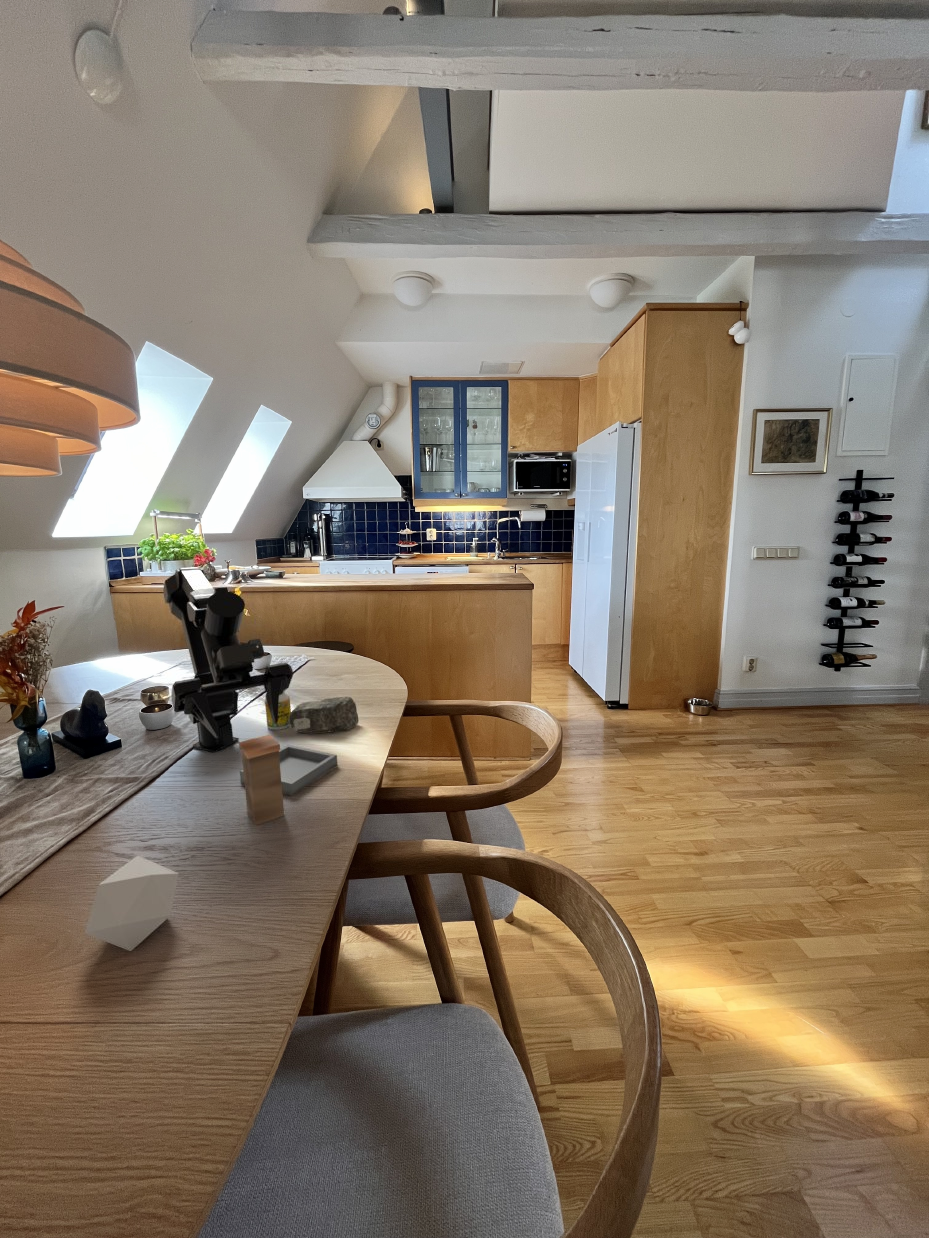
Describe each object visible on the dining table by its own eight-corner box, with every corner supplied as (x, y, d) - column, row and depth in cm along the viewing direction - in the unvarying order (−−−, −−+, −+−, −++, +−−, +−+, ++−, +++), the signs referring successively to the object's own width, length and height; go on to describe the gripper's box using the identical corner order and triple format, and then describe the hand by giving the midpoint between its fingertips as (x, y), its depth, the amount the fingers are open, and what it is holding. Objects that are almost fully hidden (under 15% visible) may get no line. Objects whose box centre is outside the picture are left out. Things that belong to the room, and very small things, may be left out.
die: (143, 902, 64) (76, 870, 59) (202, 867, 64) (141, 832, 59) (127, 972, 58) (50, 943, 52) (193, 933, 57) (122, 901, 52)
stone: (304, 758, 111) (280, 717, 110) (309, 749, 118) (286, 710, 118) (364, 724, 113) (340, 683, 112) (365, 718, 120) (342, 679, 119)
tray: (240, 782, 93) (239, 770, 92) (288, 754, 103) (288, 744, 103) (292, 795, 88) (291, 783, 87) (337, 765, 98) (336, 754, 98)
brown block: (245, 812, 83) (238, 742, 81) (276, 802, 86) (270, 734, 83) (254, 826, 79) (247, 752, 77) (286, 815, 82) (279, 744, 80)
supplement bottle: (288, 719, 122) (285, 680, 120) (294, 726, 118) (291, 686, 116) (264, 724, 119) (261, 684, 117) (270, 732, 115) (266, 690, 113)
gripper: (165, 632, 80) (187, 720, 74) (285, 618, 92) (313, 692, 85) (164, 671, 88) (183, 753, 81) (275, 653, 99) (300, 724, 92)
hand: (247, 729), depth 85 cm, fingers open, 9 cm apart
